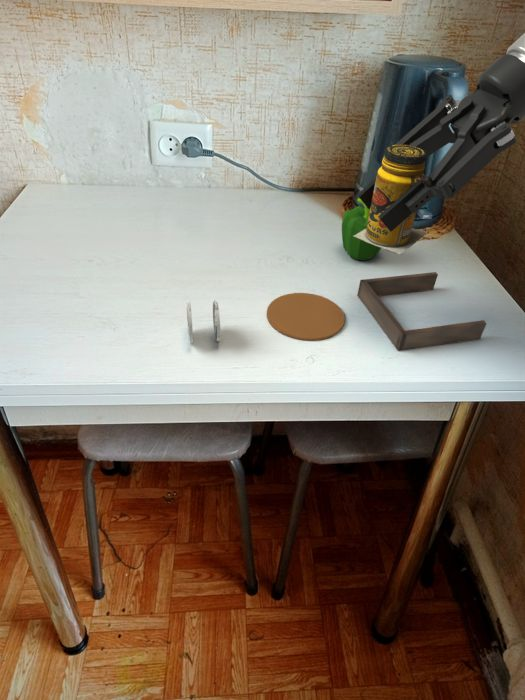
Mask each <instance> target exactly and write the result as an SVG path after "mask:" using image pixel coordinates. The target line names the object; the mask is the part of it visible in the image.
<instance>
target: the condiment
mask: <svg viewBox="0 0 525 700" xmlns="http://www.w3.org/2000/svg"><path fill="white" fill-rule="evenodd" d="M427 159H428V157H427V153H426V152H425V151H424V150H423V149H420V148H418V147H414V146H410V145H395V144H392V145H389V146H387V147H385V150H384V152H383V158H382V161H381V167H379V168H378V170H377V173H376V176H377V177H375V178H376V182H375V186H374V192H373V197H372V202H371V207H370V213H369V217H368V223H367V228H366V229H364V230H363V231H361V232H360V233H358V234H356V235H354V237H357V238H359V239H361V240H364V241H365V242H368V243H371V244H373V245H375V246H378V247H381V249H384V250H387V251H391V252H392V253H396V254H398V255H401V254H403V253H404V252H406V251H407V250H408V249H410V248H412V246H414V245H415V244H416V243H417V242H419V241H420V240H421V239H423V238H424V237H425V236H426V235H428V232H427V231H424V230H419V229H417V228H413V227H414V223H415V218H416V215H417V212H415V213H414V214H413V213H412V214H411V215H410V216H409V217H407V218H406V219H405V220H404V221H403V222H402V223H401V224H399V225H398V226H397V227H396V228H395V229H394V230H393V231H391V232H390V231H389V230H388V228H387V227H386V226H385V225H384V223H383V222H382V221H381V220H380V219H379V217H378V216H379V215H380V214H381V213H382V212H384V211H385V210H386V209H387V208H388V207H389V206H390V205H391V204H392V203H394V202H395V201H396V200H397V199H398V198H399V197H400V196H401V195H402V194H404V193H405V192H406V191H407V190H408V189H409V188H410V187H411V186H413V185H414V184H415V183H416V182H417V181H418V180H421V181H422V182H423V184H424V185H425V183H424V181H423V180H422V177H423V176H425V173H424V171H425V168H426V162H427Z"/></svg>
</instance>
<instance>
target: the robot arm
mask: <svg viewBox="0 0 525 700" xmlns="http://www.w3.org/2000/svg"><path fill="white" fill-rule="evenodd" d="M524 119H525V32H523V34H522V35H521V36H520V37H519V38H518V39H517V40H516V41H514V42H513V43H512V44H511V45H510V46H509V47H508V48H507V49H506V53H505V54H501V55H500V56H499V57H498V58H496V60H494V61H493V62H492V63H491V64H490V65H489V66H488V67H487V68H486V69H484V70H483V72H482V73H480V75H479V76H478V78H477V85H476V89H475V90H474V91H473V92H471V93H470V94H468V95H466V96H464V97H463V98H462V99H461V100H460V99H455V98H454V97H453V95H452V94H448V95H446V96H445V97H444V98H443V99H442V101H441V102H440V103H439V104H438V106H436V108H435V109H434V110H433V111H431V112H430V113H429V114H428V115H427V116H426V117H424V118H423V119H422V120H421V121H420V122H419V123H418V124H417V125H416V126H414V127H413V128H412V129H411V130H410V131H408V132H407V133H406V134H405V135H404V136H403V137H401V139H399V140H398V141H397V142H396V143H395V144H394V145H410V146H414V147H418V148H420V149H423V150H424V151H425V152H426V153H427V158H428V157H430V156H432V155H433V154H434V153H436V152H438V151H439V150H440V149H442V148H444V147H445V146H447V145H448V144H452V145H451V146H450V147H449V149H448V150H447V152H446V153H445V154H444V156H442V158H441V159H440V161H439V162H438V163H437V165H436V166H435V167H434V168H433V170H431V173H430V174H429V175H424V176H423V177H422V180H423V181H424V184H423V182H422V181H421V180H418V181H417V182H416V183H415V184H414V185H413V186H411V187H410V188H409V189H408V190H407V191H406V192H405V193H404V194H402V195H401V196H400V197H399V198H398V199H397V200H396V201H395V202H394V203H392V204H391V205H390V206H389V207H388V208H387V209H386V210H385V211H384V212H382V213H381V214H380V215H379V216H378V217H379V219H380V220H381V221H382V222H383V223H384V225H385V226H386V227H387V228H388V230H389V231H390V232H391V231H393V230H394V229H395V228H396V227H397V226H398V225H399V224H401V223H402V222H403V221H404V220H405V219H406V218H407V217H409V216H410V215H411V214H412V213H413V214H414V213H415V212H416V213H417V212H419V211H420V209H423V207H424V206H426V204H427V203H429V202H430V201H431V200H432V199H433V198H438V197H444V198H445V200H450V199H452V198H454V196H456V195H457V194H458V193H459V192H460V191H461V190H462V189H463V188H464V187H465V186H466V185H467V184H469V182H470V181H472V180H473V178H475V177H476V176H477V175H478V174H479V173H480V172H481V171H482V170H483V169H484V168H485V167H487V165H488V164H489V163H492V161H493V160H494V159H495V158H496V157H497V156H498V155H499V154H500V153H502V152H504V151H505V150H507V149H509V148H511V147H512V146H513V145H515V144H516V143H517V141H518V139H517V137H516V135H515V133H514V129H513V128H512V127H511V124H512V125H513V124H514V125H515V124H518V123H521V122H522V121H523V120H524ZM376 177H377V175H376ZM376 177H375V178H374V179H372V181H371V182H369V183H368V184H367V185H366V186H365V187H364V188H363V189H362V190H361V191H359V193H357V194H356V196H357V197H358V199H359V198H360V199H361V201H362V202H363V203H364V204H365V205H366V207H367V208H368V209H369V210H370V207H371V202H372V197H373V192H374V186H375V182H376Z"/></svg>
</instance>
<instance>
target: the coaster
mask: <svg viewBox="0 0 525 700" xmlns="http://www.w3.org/2000/svg"><path fill="white" fill-rule="evenodd" d="M266 319H267V322H268V323H269V325H270V326H271V327H272V328H273V329H274V330H275V331H276V332H278V333H279V334H282V335H283V336H286V337H289V338H291V339H295V340H299V341H311V342H313V341H321V340H326V339H329V338H332V337H334V336H336V335H337V334H338V333H340V331H341V330H342V329H343V328H344V325H345V320H346V319H345V314H344V312H343V310H342V308H341V307H340V306H339V305H338V304H337V303H335V302H334V301H332V300H330V299H329V298H327V297H325V296H322V295H319V294H313V293H308V292H292V293H287V294H283V295H280V296H278V297H277V298H274V299H273V300H272V301H271V302H270V303H269V305H268V306H267V308H266Z"/></svg>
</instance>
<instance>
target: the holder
mask: <svg viewBox="0 0 525 700" xmlns="http://www.w3.org/2000/svg"><path fill="white" fill-rule="evenodd" d="M438 276H439V274H438V273H437V271H433V272H423V273H413V274H403V275H395V276H394V275H393V276H384V277H373V278H365V279H360V280H359V284H358V289H357V295H356V296H357V297H358V299H359V300H360V301H361V303H362V304H363V305H364V307H365V308H366V309H367V311H368V313H369V314H370V315H371V316H372V317H373V319H374V321H375V322H376V323H377V325H378V326H379V327H380V328H381V330H382V332H383V333H384V334H385V335H386V337H387V338H388V340H389V341H390V342H391V344H392V345H393V347H394V348H395V349H396V350H397V352H399V351H406V350H412V349H420V348H426V347H434V346H441V345H447V344H448V345H449V344H455V343H461V342H468V341H475V340H480V339H481V338H482V336H483V333H484V331H485V328H486V326H487V324H488V323H487V321H485V320H484V319H483V320H482V319H481V320H475V321H468V322H459V323H453V324H445V325H438V326H437V325H436V326H430V327H422V328H414V329H406V330H405V329H404V328H403V326H402V325H401V323H400V322H399V321H398V320H397V318H396V317H395V316H394V315H393V313H392V312H391V311H390V310H389V308H388V307H387V305H385V303H384V302H383V301H382V299H381V298H380V297H379V296H386V295H397V294H404V293H415V292H421V291H422V292H423V291H430V290H431V291H432V290H434V289H435V285H436V282H437V279H438Z"/></svg>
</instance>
